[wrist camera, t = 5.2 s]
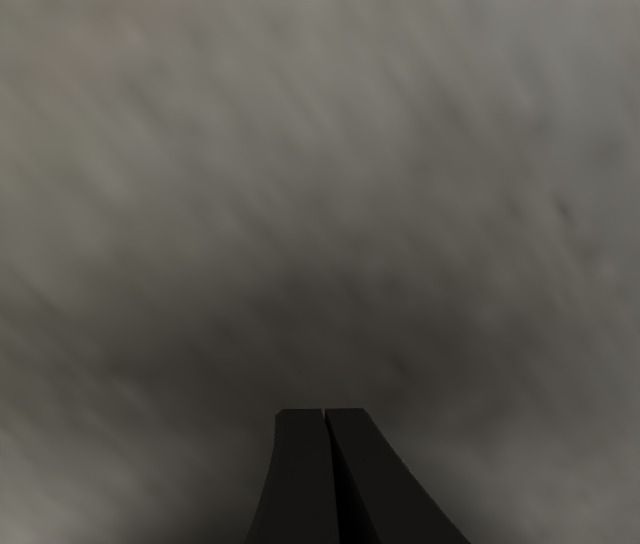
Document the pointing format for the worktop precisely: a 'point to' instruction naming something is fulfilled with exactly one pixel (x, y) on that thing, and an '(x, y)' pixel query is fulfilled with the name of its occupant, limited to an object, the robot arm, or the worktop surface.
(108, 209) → the worktop surface
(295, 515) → the robot arm
